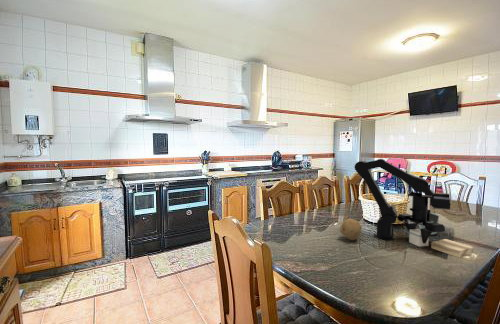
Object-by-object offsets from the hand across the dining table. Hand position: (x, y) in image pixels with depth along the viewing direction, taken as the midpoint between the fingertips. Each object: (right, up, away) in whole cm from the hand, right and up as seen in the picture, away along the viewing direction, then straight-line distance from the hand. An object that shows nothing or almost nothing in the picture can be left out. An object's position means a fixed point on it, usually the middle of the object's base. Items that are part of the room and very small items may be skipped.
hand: (418, 241), depth 108 cm
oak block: (+9, -2, -7) cm, 12 cm away
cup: (+14, -1, +14) cm, 20 cm away
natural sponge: (-29, -1, +5) cm, 29 cm away
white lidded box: (0, -1, 0) cm, 1 cm away
